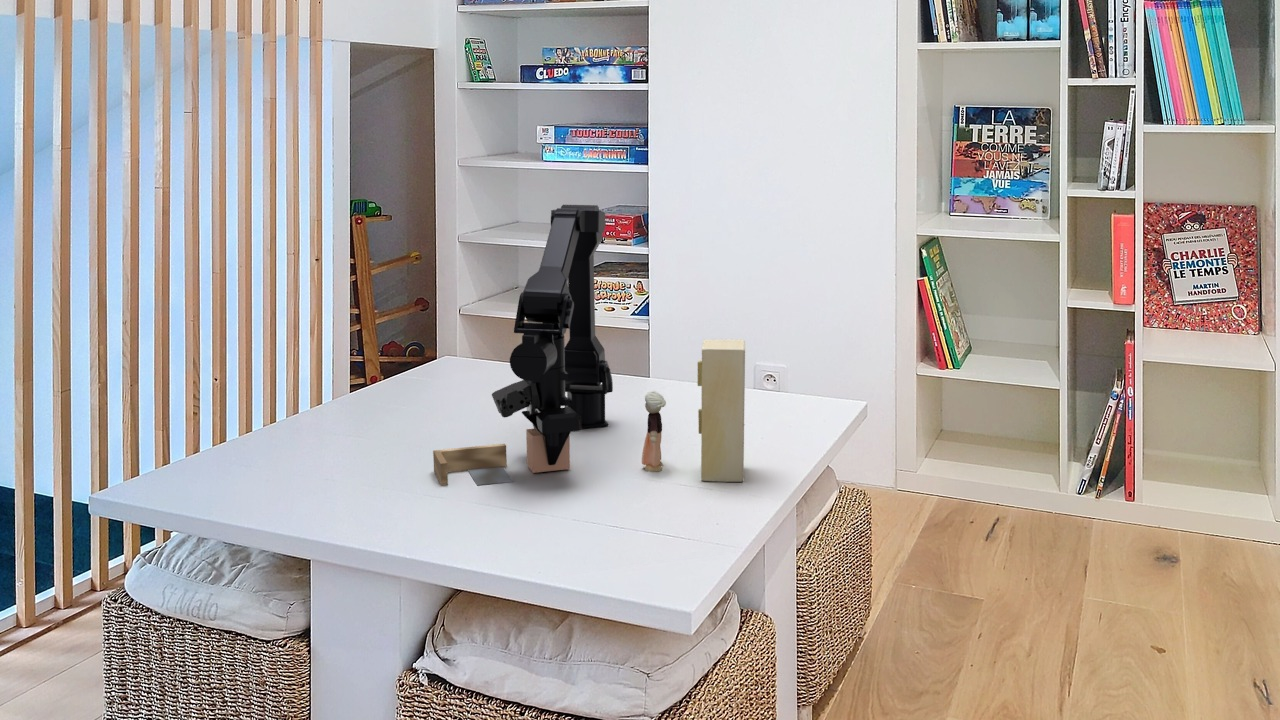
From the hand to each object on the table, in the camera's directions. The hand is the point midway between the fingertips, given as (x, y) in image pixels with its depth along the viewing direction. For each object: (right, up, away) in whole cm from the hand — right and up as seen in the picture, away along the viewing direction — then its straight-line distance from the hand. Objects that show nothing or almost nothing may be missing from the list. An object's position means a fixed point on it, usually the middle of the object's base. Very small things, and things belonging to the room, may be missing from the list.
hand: (548, 460), depth 187 cm
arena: (-11, -2, -3) cm, 12 cm away
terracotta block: (0, -1, 0) cm, 1 cm away
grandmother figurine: (+17, -1, +1) cm, 17 cm away
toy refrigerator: (+27, -2, -2) cm, 27 cm away
